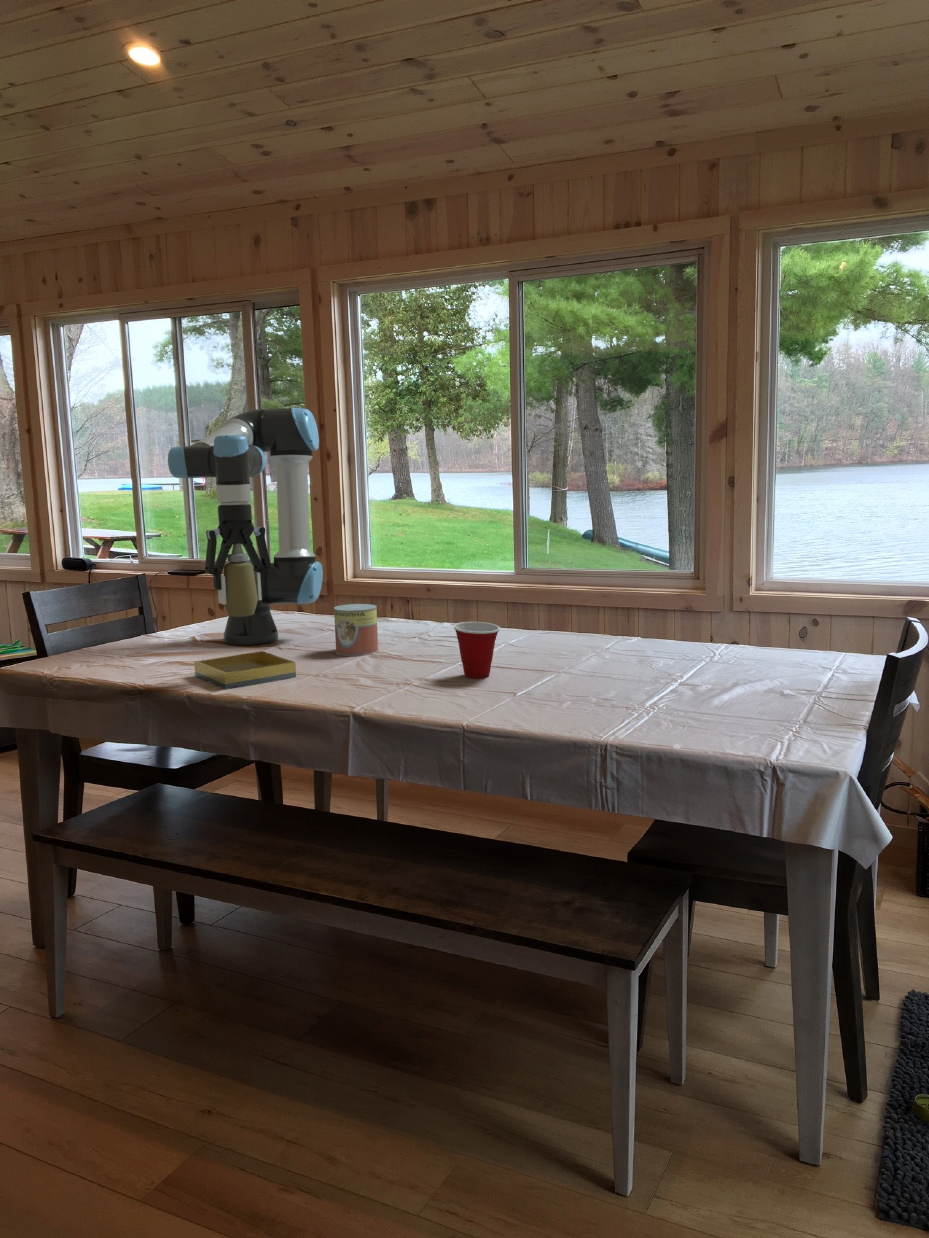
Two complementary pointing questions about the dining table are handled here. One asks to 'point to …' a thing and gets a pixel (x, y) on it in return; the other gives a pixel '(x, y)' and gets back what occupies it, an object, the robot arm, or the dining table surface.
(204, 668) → the shallow tray
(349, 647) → the canned food
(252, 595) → the squeeze bottle
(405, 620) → the dining table surface
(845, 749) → the dining table surface
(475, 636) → the plastic cup
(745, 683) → the dining table surface
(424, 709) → the dining table surface
